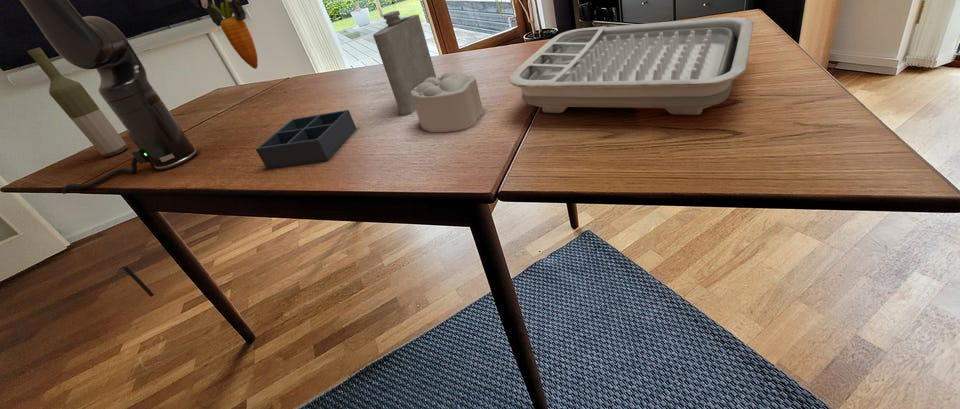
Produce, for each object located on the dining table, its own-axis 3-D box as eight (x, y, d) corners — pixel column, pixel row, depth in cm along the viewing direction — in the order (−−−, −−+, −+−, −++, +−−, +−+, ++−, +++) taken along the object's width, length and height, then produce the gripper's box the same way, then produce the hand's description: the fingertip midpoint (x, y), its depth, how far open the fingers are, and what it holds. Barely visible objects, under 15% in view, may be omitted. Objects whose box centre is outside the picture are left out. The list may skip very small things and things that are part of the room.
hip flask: (409, 114, 92) (377, 20, 81) (394, 115, 94) (362, 23, 83) (441, 87, 103) (417, 1, 92) (428, 88, 105) (403, 4, 94)
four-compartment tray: (266, 168, 84) (255, 149, 81) (301, 137, 95) (292, 119, 93) (328, 160, 80) (318, 139, 78) (356, 128, 92) (348, 109, 89)
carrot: (240, 74, 94) (202, 4, 86) (253, 67, 98) (217, 0, 90) (259, 70, 93) (222, -1, 85) (270, 63, 97) (236, -5, 89)
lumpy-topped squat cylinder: (468, 130, 77) (457, 86, 72) (411, 133, 82) (397, 92, 78) (487, 107, 85) (478, 66, 80) (433, 111, 90) (421, 72, 85)
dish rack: (736, 131, 57) (745, 75, 52) (505, 124, 76) (496, 82, 71) (749, 55, 77) (756, 10, 73) (564, 64, 96) (561, 29, 92)
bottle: (120, 147, 124) (40, 47, 107) (135, 146, 121) (56, 42, 105) (97, 159, 118) (9, 55, 102) (113, 158, 116) (26, 51, 99)
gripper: (225, -78, 82) (268, 12, 92) (169, -60, 86) (216, 25, 95) (200, -77, 76) (248, 19, 85) (141, -58, 79) (194, 33, 89)
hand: (231, 22), depth 90 cm, fingers closed on carrot, 5 cm apart
